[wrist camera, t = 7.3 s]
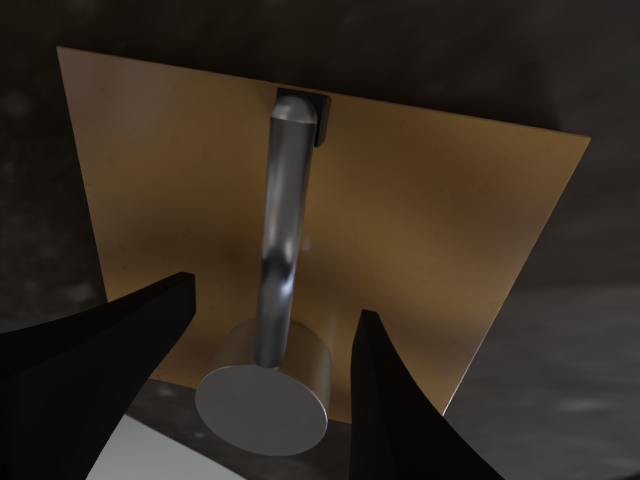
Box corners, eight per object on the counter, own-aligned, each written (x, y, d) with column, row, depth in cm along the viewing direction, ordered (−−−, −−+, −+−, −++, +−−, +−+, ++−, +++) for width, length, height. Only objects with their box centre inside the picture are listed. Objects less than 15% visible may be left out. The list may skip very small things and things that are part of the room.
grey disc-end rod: (323, 409, 18) (316, 468, 15) (223, 386, 18) (196, 439, 15) (397, 108, 10) (411, 108, 8) (226, 79, 11) (176, 69, 8)
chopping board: (424, 418, 19) (429, 442, 18) (137, 354, 20) (121, 372, 19) (565, 133, 11) (593, 136, 10) (87, 51, 12) (53, 44, 11)
